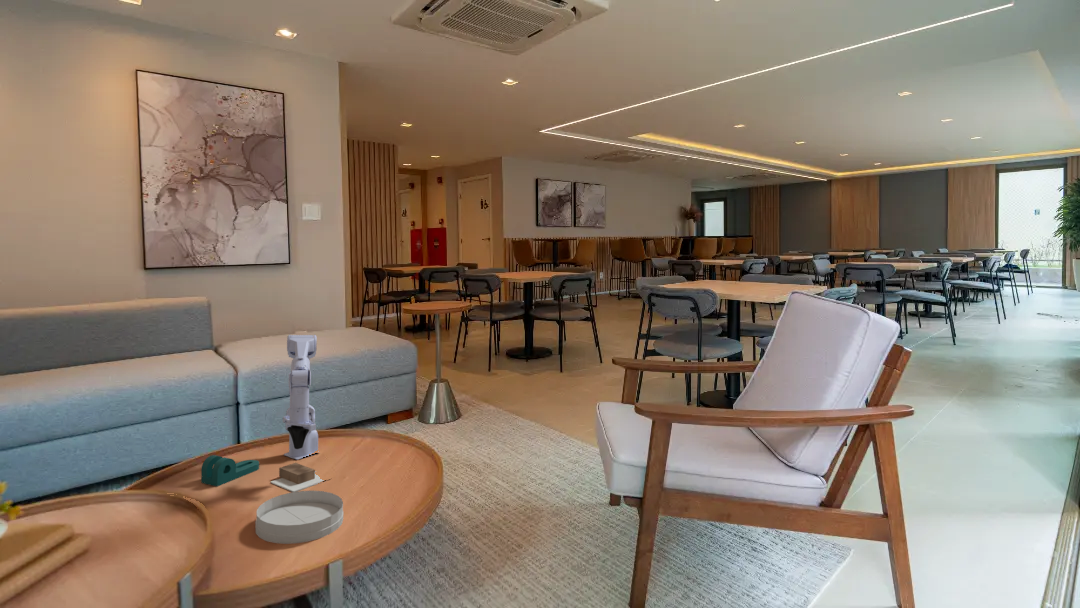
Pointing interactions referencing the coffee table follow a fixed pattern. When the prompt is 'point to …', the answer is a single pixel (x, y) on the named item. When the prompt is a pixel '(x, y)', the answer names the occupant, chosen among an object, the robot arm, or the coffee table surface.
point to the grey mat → (296, 487)
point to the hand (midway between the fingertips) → (298, 448)
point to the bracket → (225, 470)
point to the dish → (299, 517)
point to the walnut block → (297, 473)
